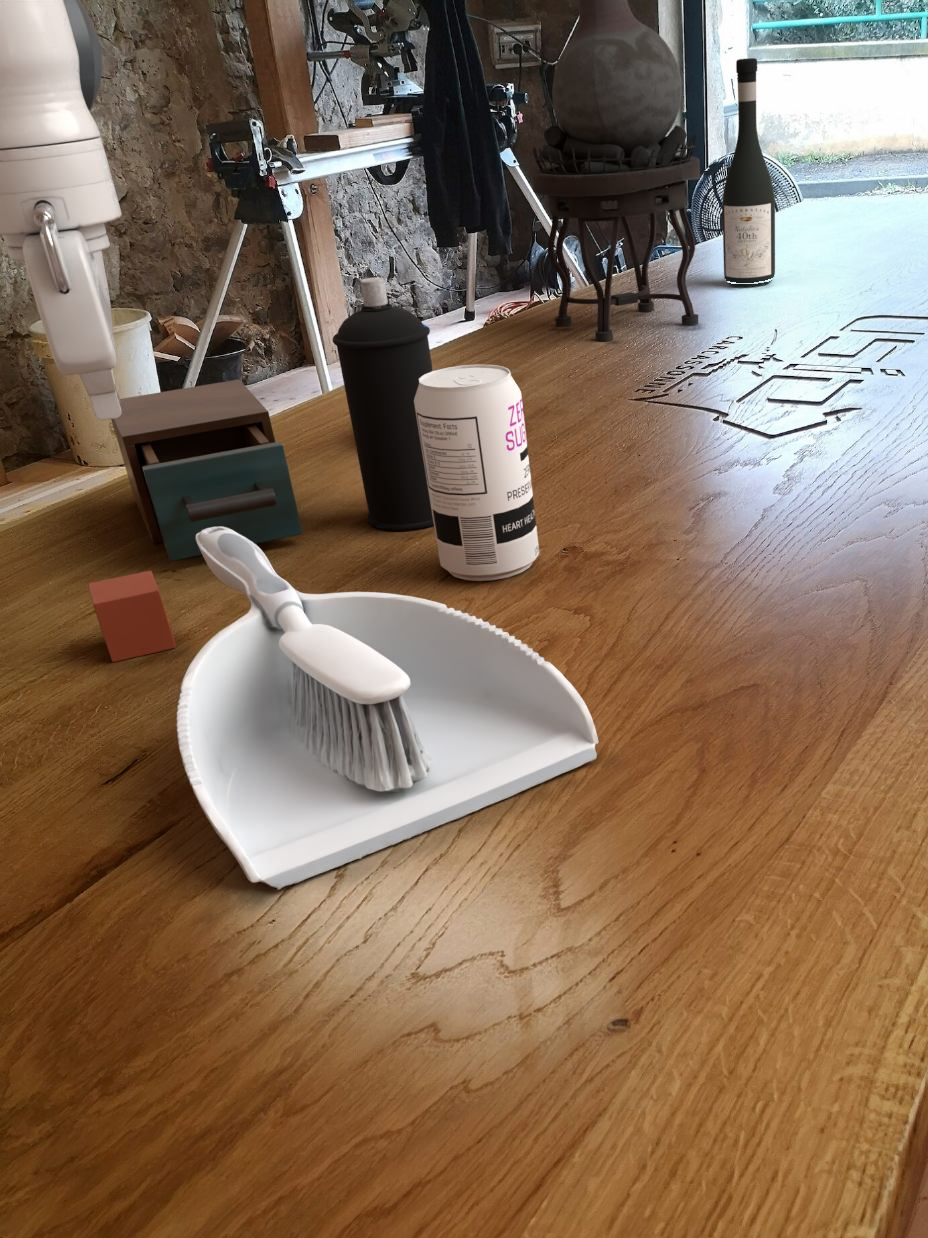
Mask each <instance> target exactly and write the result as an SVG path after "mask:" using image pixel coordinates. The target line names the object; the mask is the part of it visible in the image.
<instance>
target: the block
mask: <svg viewBox="0 0 928 1238" xmlns="http://www.w3.org/2000/svg"><path fill="white" fill-rule="evenodd" d="M87 588H88V591H89V595H90V598H91V599H90V600H91V602H92V605H93V609H94V612H95V614H96V619H97V621H98V623H99V626H100V630H101V632H102V636H103V639H104V642H105V645H106V647H107V651H108V653H109V658H110V661H111V662H112V663H115V662H120V661H125V660H128V659H132V658H137V657H143V656H146V655H150V654H155V653H160V652H164V651H168V650H172V649H176V648H177V645H176V642H175V638H174V635H173V632H172V628H171V626H170V625H171V624H170V621H169V618H168V615H167V612H166V608H165V606H164V601H163V598H162V595H161V592H160V589H159V586H158V584H157V581H156V578H155V577H154V574H153V572H152V570H148V571H142V572H141V571H140V572H138V573H137V572H136V573H132V574H128V575H127V574H126V575H122V576H117V577H113V578H108V579H103V580H98V581H94V582H89V583H87Z"/></svg>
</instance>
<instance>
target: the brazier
mask: <svg viewBox="0 0 928 1238" xmlns="http://www.w3.org/2000/svg"><path fill="white" fill-rule="evenodd" d="M577 2H578V23H577V28H576V31H575V33H574V35H573V37H572V38H571V39H570V41H569V42H568V43H567V45H566V46H565V48H564V49H563V51H562V52H561V54H560V55H559V58H558V61H557V63H556V66H555V70H554V75H553V78H552V79H553V80H552V91H551V94H552V108H553V111H554V114H555V118H556V121H557V122H558V124H559V125H555V124H554V125H550V127H548V128H547V129H546V130H544V131H543V137H544V140H545V142H546V144H543V145H542V148H541V147H538V153H537V149H536V146H533V148H532V152H533V156H534V157H533V158H534V160H535V163H536V165H537V166H538V169H535V170H532V171H531V182H532V191H533V193H535V194H538V195H542V196H547V200H548V209H549V214H550V215H551V217H552V218H551V219H552V220H551V228H550V232H549V237H548V242H547V257H548V260H549V262H550V265H552V267H553V269H554V270H555V272H556V273H557V275H558V276H559V278H560V281H561V287H562V288H561V289H562V290H561V298H560V303H559V308H558V315H557V316H555V317H554V322H555V323H554V325H555V327H569V326H571V325H572V324H573V321H572V316H571V315H568V306H569V304H575V305H576V304H577V305H597V315H596V316H597V318H596V319H597V320H596V325H597V328H596V329H597V330H596V331H594V335H595V336H594V337H595V341H596V342H608V341H613V339H614V335H613V334H614V333H613V329H611V323H610V322H611V306H617V307H619V306H625V305H631V304H637V311H638V312H641V313H645V312H647V313H649V312H653V311H654V310H655V306H654V305H655V302H654V301H652V300H661V299H662V300H674V301H675V300H676V301H680V302H682V305H683V308H684V313H685V314H683V315H681V325H682V326H696V325H698V324H699V314H697V313H695V311H694V307H693V303H692V300H691V297H690V295H689V292H688V288H687V283H686V282H687V280H686V279H687V278H686V276H687V273H688V270H689V267H690V266H691V263H692V260H693V259H694V255H695V252H696V240H695V235H694V232H693V229H692V226H691V224H690V222H689V218H688V215H687V211H686V204H687V183H686V181H689V180H691V181H692V180H693V181H694V180H700V179H701V167H700V165H701V164H700V163H701V162H700V161H701V160H700V158H699V157H696V156H694V155H693V152H694V149H695V145H696V137H697V134H693V135H692V137H688V135H687V132H686V130H685V129H683V127H682V126H680V125H678V124H677V125H675V126H674V124H675V122H676V119H677V117H678V114H679V111H680V108H681V104H682V95H683V84H682V81H683V80H682V76H681V73H680V68H679V65H678V62H677V60H676V57H675V55H674V53H673V52H672V50H671V48H670V47H669V45H668V44H667V42H666V41H665V40H664V39H663V38H662V36H661V35H660V34H658V33H657V32H656V31H655V30H654V29H652V28H651V27H648V26H647V25H646V24H644V23H642V22H641V21H640V20H638V19H637V18H636V17H635V16H634V14H633V12H632V10H631V8H630V6H629V3H628V0H577ZM673 126H674V127H673ZM672 127H673V128H672ZM678 153H679V154H678ZM685 153H686V154H685ZM538 154H539V155H538ZM692 155H693V156H692ZM545 162H546V163H549V165H550V167H547V165H546V163H545ZM543 167H544V168H543ZM657 199H661V202H659V203H657ZM609 202H612V203H613V204H615V202H617V203H616V204H617V208H610V209H609V208H604V207H603V204H604V203H606V204H609ZM666 211H668V217H669V220H670V223H671V226H672V228H673V231H674V233H675V235H676V236H677V238H678V241H679V244H680V246H681V252H682V256H681V261H680V263H679V268H678V270H677V276H676V285H677V291H678V293H679V294H677V293H651V288H650V282H649V264H650V261H651V259H652V254H653V252H654V248H655V244H656V240H657V234H658V233H657V232H658V231H657V229H658V217H657V213H660V212H666ZM677 212H678V213H679V216H680V220H681V223H682V226H683V227H684V230H685V233H686V235H685V234H684V231H683V229H682V227H681V225H680V222H679V219H678V217H677ZM648 214H649V221H650V223H649V225H650V226H649V227H650V228H649V240H648V244H647V248H646V252H645V255H644V257H643V261H642V265H641V266H640V260H639V255H638V252H637V247H636V241H635V238H634V235H633V232H632V228H631V226H630V223H629V220H628V218H627V217H633V216H640V215H641V216H642V215H648ZM559 218H562V221H561V226H560V228H559V223H560V221H559V220H560V219H559ZM571 219H577V223H578V224H577V225H578V233H579V247H580V255H581V260H582V265H583V268H584V271H585V272H586V274H587V276H588V279H589V280H590V282H591V283H592V285H593V287H594V290H595V291H596V298H575V297H571V291H572V277H571V274H570V270H569V267H568V265H567V262H566V259H565V256H564V252H563V251H564V250H563V249H564V243H565V242H564V241H565V237H566V234H567V231H568V229H569V225H570V221H571ZM589 222H590V223H591V222H612V234H611V240H610V245H609V251H608V255H607V256H608V257H607V263H606V273H605V284H604V290H603V287H602V284H601V282H600V280H599V278H598V277H597V275H596V273H595V271H594V269H593V267H592V265H591V261H590V257H589V256H590V255H589V249H588V240H587V239H588V237H587V224H586V223H589ZM620 222H621V223H622V226H623V228H624V231H625V234H626V238H627V241H628V247H629V250H630V256H631V259H632V265H633V268H634V274H635V280H636V286H637V292H632V291H629V292H623V293H618V294H617V293H616V294H612V282H613V272H614V263H615V257H616V250H617V245H618V240H619V233H620V224H621V223H620ZM558 228H559V232H558ZM557 232H558V235H557ZM556 237H557V240H556ZM686 237H687V238H686ZM555 241H556V244H555Z"/></svg>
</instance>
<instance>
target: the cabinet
mask: <svg viewBox="0 0 928 1238" xmlns="http://www.w3.org/2000/svg"><path fill="white" fill-rule="evenodd" d="M120 402H121V410H122V413H121V416H120V417H118V418H115V419H110V420H111V424H112V427H113V432H114V433H115V437H116V441H117V444H118V447H119V451H120V454H121V457H122V461H123V464H124V466H125V470H126V474H127V478H128V481H129V484H130V487H131V490H132V494H133V498H134V500H135V504H136V506H137V509H138V510H139V513H140V515H141V518H142V520H143V522H144V525H145V528H146V529H147V532H148V534H149V537H150V539H151V541H152V543H153V545H157V544H162V543H163V544H164V541H163V537H162V534H161V530H160V527H159V523H158V520H157V517H156V513H155V510H154V506H153V503H152V499H151V496H150V493H149V489H148V486H147V482H146V479H145V475H144V472H143V469H142V467H143V466H144V464H143V461H142V457H141V454H140V451H139V447H138V444H139V443H145V442H150V441H156V440H162V439H167V438H173V437H179V436H184V435H190V434H196V433H201V432H207V431H213V430H218V429H224V428H230V427H236V426H241V425H247V424H253V423H254V424H255V425H256V427H257V428H258V429H259V430H260V431H261V433H262V434H263V435H264V436H265V437H266V439H267V440H268V441H269V443H275V442H276V439H275V433H274V430H273V426H272V422H271V416H270V413H269V411H268V409H267V408H266V407H265V406H264V405H263V404H262V403H261V402H260V401H259V400H258V399H257V397H256V396H255V395H254V394H253V393H252V391H251V390H249V388H248V387H247V386H246V385H245V384H244V383H243V382H242V381H241V379H233V380H227V381H221V382H215V383H209V384H202V385H197V386H191V387H185V388H178V389H173V390H166V391H160V392H154V393H148V394H142V395H136V396H130V397H124V398H120Z"/></svg>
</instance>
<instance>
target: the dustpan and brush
mask: <svg viewBox="0 0 928 1238" xmlns="http://www.w3.org/2000/svg"><path fill="white" fill-rule="evenodd" d="M196 542H197V544H198V546H199V549H200V551H201V553H202V555H201V556H202V557H203V559H204V561H205V563H206V565H207V566H208V568H209V570H210V571H211V572H212V574H213V575H214V576H215V578H217V580H219V581H220V582H221V583H222V584H223V585H225V586H226V587H228V588H230V589H232V590H235V591H237V592H239V593H241V594H242V595H243V596H245V597H246V598H248V599H249V602H250V609H249V610H248V611H247V613H246V614H244V615H243V616H241V617H240V618H238V619H237V620H236V621H234V622H232V623H230V624H229V625H227V626H226V627H224V628H223V629H221V630H219V631H218V632H217V633H216V634H214V635H213V637H211V638H210V639H209V640H208V641H207V642H206V643H205V644H204V645H203V646H202V648H201V649H199V651H198V652H197V654H196V655H195V656H194V658H193V659H192V661H191V662H190V664H189V666H188V668H187V670H186V672H185V674H184V676H183V679H182V681H181V685H180V694H179V699H178V701H177V703H178V705H177V706H176V707H177V709H176V710H177V712H176V734H177V741H178V743H177V744H178V748H179V752H180V758H181V762H182V765H183V767H184V771H185V773H186V776H187V780H188V781H189V785H190V786H191V788H192V791H193V794H194V796H195V798H196V800H197V802H198V804H199V806H200V808H201V809H202V811H203V813H204V815H205V816H206V819H207V820H208V822H209V823H210V825H211V826H212V828H213V830H214V831H215V832H216V834H217V835H218V837H219V838H220V839H221V840H222V842H223V843H224V844H225V846H226V847H227V848H228V849H229V851H230V853H232V855H233V857H234V858H235V860H236V862H237V863H238V864H239V866H240V868H241V870H242V872H243V873H244V875H245V877H246V878H247V880H248V881H249V882H251V883H252V884H255V883H259V882H261V883H264V884H266V885H267V886H269V887H271V888H276V889H277V890H278V891H279V890H281V889H283V888H284V887H287V886H292V885H293V884H298V883H300V882H303V881H305V880H307V879H310V878H312V877H315V876H317V875H321V874H322V873H325V872H328V871H330V870H333V869H336V868H339V867H341V866H343V865H345V864H348V863H351V862H352V861H355V860H358V859H362V858H363V857H365V856H367V855H370V854H373V853H376V852H378V851H380V850H383V849H385V848H388V847H390V846H394V845H396V844H398V843H400V842H403V841H405V840H410V839H411V838H413V837H416V836H418V835H422V833H425V832H428V831H431V830H432V829H436V828H437V827H440V826H442V825H445V824H447V823H449V822H450V823H451V822H453V821H455V820H458V819H460V818H463V817H465V816H468V815H470V814H472V813H474V812H477V811H479V810H482V809H484V808H485V807H488V806H491V805H493V804H497V803H498V802H500V801H503V800H505V799H508V798H510V797H512V796H515V795H517V794H519V793H521V792H523V791H526V790H528V789H531V788H532V787H534V786H537V785H539V784H542V783H545V782H547V781H550V780H552V779H554V778H555V777H559V776H560V775H562V774H564V773H567V772H569V771H571V770H574V769H577V768H579V767H581V766H584V765H585V764H587V763H590V762H592V761H595V760H596V759H597V751H596V745H598V744H599V743H600V742H599V738H598V734H597V729H596V726H595V724H594V719H593V718H592V715H591V712H590V711H589V708H588V706H587V704H586V703H585V700H584V699H583V698H582V696H581V695H580V693H579V692H578V690H577V689H576V688H575V687H574V685H573V684H572V683H571V682H570V681H569V680H568V679H567V678H566V676H564V675H563V673H562V672H561V671H560V670H558V668H557V667H555V665H553V664H552V663H551V662H550V661H546V660H545V657H543V656H540V654H539V652H536V651H534V650H533V648H532V647H529V646H528V644H527V643H522V640H521V639H516V636H515V635H510V634H509V632H508V631H503V629H502V628H501V627H499V628H497V627H496V625H495V624H490V623H489V621H484V620H483V619H482V618H477V617H476V616H475V615H470V614H469V613H468V612H462V610H455V608H454V607H449V608H448V607H447V605H446V604H444V603H441V602H438V601H433V600H430V599H425V598H421V597H417V596H411V595H403V594H397V593H391V592H389V593H388V592H378V591H377V592H376V591H343V592H330V593H329V592H328V593H304V592H300V591H298V590H297V589H295V588H294V587H293V586H292V585H291V584H290V582H288V581H287V580H286V579H284V578H282V577H281V576H280V575H278V573H277V572H276V571H275V570H274V567H273V566H272V564H271V562H270V560H269V558H268V556H266V554H265V553H264V551H263V550H262V549H261V548H260V546H258V545H257V543H256V544H254V543H253V542H252V541H250V540H249V539H247V538H246V537H244V536H242V535H240V534H238V533H237V532H235V531H233V530H231V529H229V528H226V527H221V526H220V527H211V528H207V529H204V530H202V531H201V532H199V533H197V534H196Z"/></svg>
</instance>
